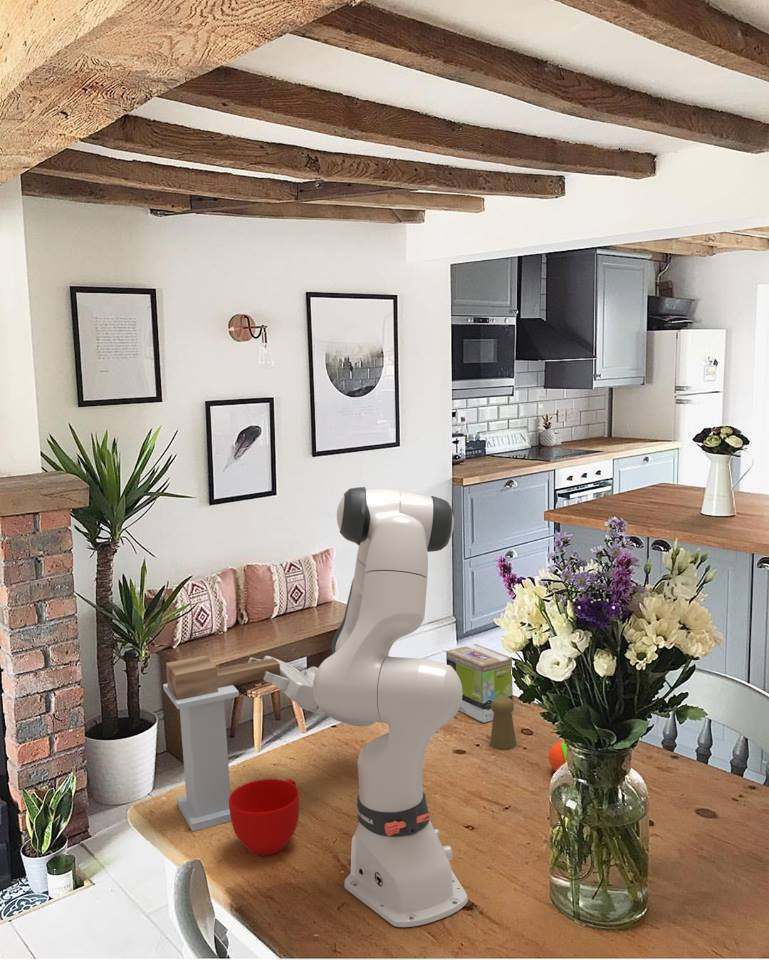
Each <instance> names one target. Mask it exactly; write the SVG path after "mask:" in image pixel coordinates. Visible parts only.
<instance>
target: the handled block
mask: <svg viewBox="0 0 769 960" xmlns="http://www.w3.org/2000/svg"><path fill="white" fill-rule="evenodd" d="M274 658H275V657H273V658H269V659H264V658H263V659H264V660H263V659H259V661H254V662H249V663H248V662H244V663H239V664H234V665H231V666H230V665H229V666H226V667H225V666H224V667H220V668H217V666H216V665H215V664H214V663H213V662H212V660H211V659H210V658H209V657H208V656H207V655H202V656H201V655H200V656H197V657H196V656H195V657H190V658H186V659H185V658H184V659H180V660H173V661H169V662H166V663H165V667H166V668H165V669H166V681H167V682H166V684H168V688H169V689H170V691H171V692H172V693H173V695H174V696H175V698H176V699H177V700H181V699H186V698H191V697H196V696H200V695H205V694H210V693H215V692H218V688H221V687H225V686H230V685H233V686H235V685H239V684H244V683H249V682H255V681H260V680H264V679H263V678H262V676H263V675H264V672H265V671H268V672H271V673H273V674H275V675H278V676H279V675H280V663H279V662H277V661H276V660H275V659H276V658H275V659H274Z"/></svg>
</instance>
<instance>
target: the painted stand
mask: <svg viewBox="0 0 769 960" xmlns="http://www.w3.org/2000/svg"><path fill="white" fill-rule="evenodd" d="M162 687H163V691H164V692H165V693H166V695H167V697H168V698H169V699H170V701H171V702H172V703H173V705H174V706H175V708H176V709H177V710H179V716H180V717H179V720H180V730H181V731H180V732H181V744H182V757H183V758H182V759H183V771H184V772H183V773H184V783H185V795H183V796H180V797H176V802H177V806H178V809H179V810H180V812H181V814H182V816H183V817H184V819H185V821H186V823H187V824H188V826H189V828H190V830H191V831H192V832H195V831H200V830H203V829H206V828H210V827H214V826H217V825H221V824H225V823H229V822H232V821H231V816H230V809H229V797H230V795H231V794H232V793H231V784H230V783H231V781H230V768H229V767H230V766H229V755H228V753H229V752H228V738H227V724H226V723H227V722H226V711H225V700H228V699H233V698H238V697H240V691H239V690H238V689H237V688H236V687H235V685H230V686H225V687H221V688H218V692H215V693H210V694H205V695H200V696H196V697H191V698H186V699H181V700H177V699H176V698H175V696H174V695H173V693H172V692H171V691H170V689H169V688H168V683H164V684H162Z"/></svg>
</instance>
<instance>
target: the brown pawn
mask: <svg viewBox="0 0 769 960" xmlns="http://www.w3.org/2000/svg"><path fill="white" fill-rule="evenodd" d="M491 709H492V711H493V712H494V714H493V720H492V723H491V725H492V726H491V733H490V742H489V743H490V747H491V748H493V749H496V750H500V751H508V750H513V749H515V748H516V747H517V738H516V733H515V727H514V726H515V725H514V720H513V713H512V711H513V712H514V709H515V705H514V700H513V701H512V700H511V699H510V698H508V697H502V696H501V697H496V698H494V699H493V700H492V702H491Z"/></svg>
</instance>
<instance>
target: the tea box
mask: <svg viewBox="0 0 769 960" xmlns="http://www.w3.org/2000/svg"><path fill="white" fill-rule="evenodd" d="M445 653H446V664H447V665H450V666H451V667H452V668H453V669H454V670H455V671H456V673H457V674H458V676H459V679H460V681H461V685H462V702H461V705H460V708H459V710H458V712H461V713H464V714H466V715H467V716H469V717H471V718H472V719H474V720H477V721H478V722H481V723H489V722H493V714H494V712H493V711H492V709H491V702H492V700H493V699H494V698H496V697H501V696H502V697H508V698H510V699H511V700H512V701H513V702H514V699H513V698H514V696H513V691H514V689H513V674H512V675H511V667H512V668H513V658H512V657H510V656H508V655H505V654H503V653H500V652H499V651H498V652H497V651H495V650H492V649H490V648H488V647H485V646H482V645H479V644H478V643H474V644H469V645H465V646H461V647H458V648H452V649H449V650H446V651H445ZM511 658H512V659H511ZM513 712H514V710H513V711H512V714H513Z"/></svg>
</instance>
